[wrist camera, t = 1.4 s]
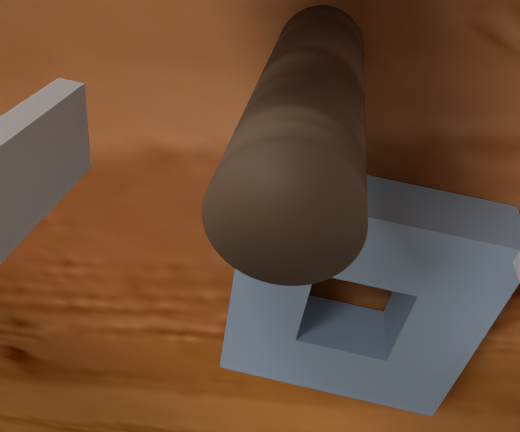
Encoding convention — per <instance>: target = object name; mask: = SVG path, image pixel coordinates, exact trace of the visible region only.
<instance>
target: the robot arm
mask: <svg viewBox="0 0 520 432" xmlns="http://www.w3.org/2000/svg"><path fill="white" fill-rule="evenodd" d="M90 168H91V161H90V148H89V135H88V121H87V108H86V95H85V83H81V82H76V81H71V80H67V79H62V78H57V79H56V80H54V81H53V82H51V83H50V84H48V85H47V86H45V87H44V88H42V89H41V90H39V91H38V92H36V93H35V94H33V95H32V96H30V97H29V98H27V99H26V100H24V101H23V102H21V103H20V104H18V105H17V106H15V107H14V108H12V109H11V110H9V111H8V112H6V113H5V114H3V115H2V116H0V264H1V263H2V262H3V261H4V260H5V259H6V258H7V256H8V255H9V254H10V253H11V252H12V251H13V250H14V249H15V248H16V247H17V246H18V245H19V244H20V243H21V242H22V241H23V239H24V238H25V237H26V236H27V235H28V234H29V233H30V232H31V231H32V230H33V229H34V228H35V227H36V226H37V225H38V223H39V222H40V221H41V220H42V219H43V218H44V217H45V216H46V215H47V214H48V213H49V212H50V211H51V210H52V209H53V207H54V206H55V205H56V204H57V203H58V202H59V201H60V200H61V199H62V198H63V197H64V196H65V195H66V194H67V193H68V191H69V190H70V189H71V188H72V187H73V186H74V185H75V184H76V183H77V182H78V181H79V180H80V179H81V178H82V177H83V175H84V174H85V173H86V172H87V171H88V170H89V169H90ZM512 263H513V265H514V268H515V271H516V273H517V276H518V279H519V281H520V251H519V253H518V254H517V256H516V258H515V259H514V261H513V262H512Z"/></svg>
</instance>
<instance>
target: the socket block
mask: <svg viewBox="0 0 520 432" xmlns="http://www.w3.org/2000/svg"><path fill="white" fill-rule="evenodd" d="M367 202H368V231H367V237H366V241H365V244H364V246H363V248H362V250H361V252H360V253H359V255H358V256H357V258H356V259H355V260H354V261H353V262H352V264H351V265H350V266H348V267H347V268H346V269H345V270H344V271H342V272H340V273H339V274H337V275H336V276H334V277H332V278H336V279H340V280H345V281H349V282H354V283H358V284H363V285H367V286H372V287H376V288H381V289H385V290H390V291H393V292H392V294H391V296H390V298H389V301H388V303H387V305H386V308H385V310H384V312H383V311H379V310H374V309H370V308H366V307H361V306H357V305H352V304H348V303H343V302H339V301H334V300H330V299H325V298H321V297H317V296H312V295H309V292H310V289H311V286H312V284H310V285H303V286H282V285H275V284H270V283H266V282H262V281H259V280H256V279H254V278H251V277H249V276H247V275H245V274H243V273H241V272H240V271H238V270H237V269H235V272H234V278H233V285H232V291H231V297H230V304H229V310H228V317H227V323H226V330H225V336H224V343H223V349H222V356H221V362H220V367H222V368H226V369H230V370H234V371H239V372H243V373H247V374H251V375H256V376H260V377H264V378H269V379H273V380H277V381H281V382H286V383H290V384H294V385H299V386H303V387H307V388H311V389H316V390H320V391H324V392H328V393H333V394H337V395H341V396H346V397H350V398H354V399H358V400H363V401H367V402H371V403H376V404H380V405H384V406H388V407H393V408H397V409H401V410H405V411H410V412H414V413H418V414H423V415H427V416H431V417H432V416H433V415H434V413H435V412H436V410H437V409H438V407H439V406H440V404H441V403H442V401H443V400H444V398H445V397H446V395H447V393H448V392H449V390H450V389H451V387H452V386H453V384H454V383H455V381H456V380H457V378H458V377H459V375H460V374H461V372H462V370H463V369H464V367H465V366H466V364H467V363H468V361H469V360H470V358H471V357H472V355H473V354H474V352H475V351H476V349H477V347H478V346H479V344H480V343H481V341H482V340H483V338H484V337H485V335H486V334H487V332H488V331H489V329H490V328H491V326H492V324H493V323H494V321H495V320H496V318H497V317H498V315H499V314H500V312H501V311H502V309H503V308H504V306H505V305H506V303H507V301H508V300H509V298H510V297H511V295H512V294H513V292H514V291H515V289H516V288H517V286H518V285H519V283H520V281H519V279H518V276H517V273H516V271H515V268H514V265H513V263H512V262H513V261H514V259H515V258H516V256H517V254H518V253H519V251H520V213H519V211H518V209H517V207H516V206H512V205H508V204H503V203H498V202H493V201H489V200H484V199H479V198H474V197H470V196H465V195H460V194H455V193H451V192H446V191H441V190H437V189H432V188H427V187H422V186H418V185H413V184H408V183H403V182H399V181H394V180H389V179H384V178H380V177H375V176H370V175H367Z"/></svg>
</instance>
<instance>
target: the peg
mask: <svg viewBox="0 0 520 432" xmlns="http://www.w3.org/2000/svg"><path fill="white" fill-rule="evenodd" d="M202 218H203V225H204V228H205V232H206V234H207V236H208V239H209V241H210V242H211V244H212V246H213V247H214V249H215V250H216V251H217V252H218V254H219V255H220V256H221V257H222V258H223V259H224V260H225V261H226V262H227V263H229V264H230V265H231V266H232V267H234V268H235V269H237V270H238V271H240V272H241V273H243V274H245V275H247V276H249V277H251V278H254V279H256V280H259V281H262V282H266V283H270V284H275V285H282V286H303V285H310V284H315V283H319V282H322V281H325V280H327V279H330V278H332V277H334V276H336V275H337V274H339V273H340V272H342V271H344V270H345V269H346V268H347V267H348V266H350V265H351V264H352V262H353V261H354V260H355V259H356V258H357V256H358V255H359V253H360V252H361V250H362V248H363V246H364V244H365V241H366V237H367V231H368V202H367V165H366V127H365V90H364V53H363V39H362V35H361V32H360V30H359V28H358V26H357V24H356V23H355V21H354V20H353V19H352V18H351V17H350V16H349V15H348V14H346V13H345V12H343V11H342V10H340V9H337V8H335V7H331V6H325V5H320V6H312V7H309V8H306V9H304V10H301V11H300V12H298V13H297V14H295V15H294V16H293V17H292V18H291V19H290V20H289V21H288V22H287V24H286V25H285V27H284V29H283V30H282V32H281V35H280V37H279V39H278V41H277V43H276V45H275V47H274V49H273V51H272V54H271V56H270V58H269V60H268V62H267V64H266V66H265V68H264V70H263V72H262V75H261V77H260V79H259V81H258V83H257V85H256V87H255V89H254V91H253V94H252V96H251V98H250V100H249V102H248V104H247V106H246V108H245V110H244V112H243V115H242V117H241V119H240V121H239V123H238V125H237V127H236V129H235V131H234V134H233V136H232V138H231V140H230V142H229V144H228V146H227V148H226V150H225V152H224V155H223V157H222V159H221V161H220V163H219V165H218V167H217V169H216V171H215V174H214V176H213V178H212V180H211V182H210V184H209V186H208V188H207V190H206V193H205V196H204V200H203V205H202Z"/></svg>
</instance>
